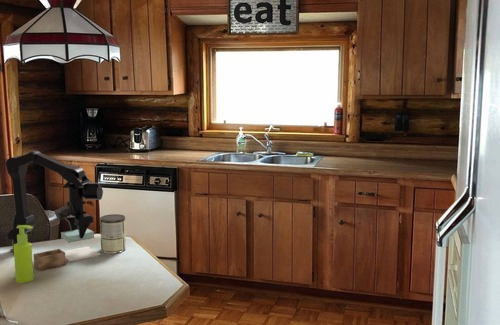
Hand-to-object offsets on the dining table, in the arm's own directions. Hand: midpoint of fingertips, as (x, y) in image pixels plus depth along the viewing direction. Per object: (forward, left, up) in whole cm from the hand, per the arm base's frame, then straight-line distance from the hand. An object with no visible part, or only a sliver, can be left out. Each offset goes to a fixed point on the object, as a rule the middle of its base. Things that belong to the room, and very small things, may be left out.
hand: (77, 236), depth 225 cm
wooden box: (+6, -14, -8) cm, 17 cm away
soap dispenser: (+15, -26, -8) cm, 31 cm away
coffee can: (+3, +14, -8) cm, 17 cm away
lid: (0, 0, 0) cm, 0 cm away
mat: (0, 0, -8) cm, 8 cm away
